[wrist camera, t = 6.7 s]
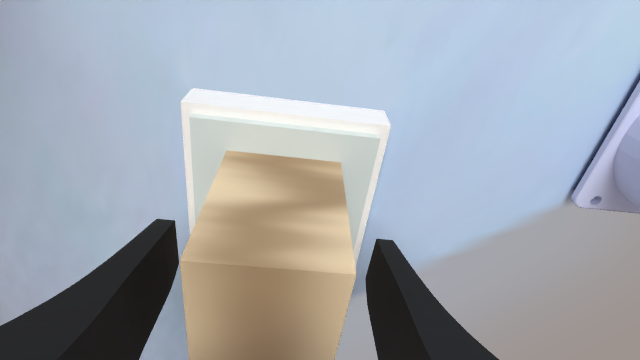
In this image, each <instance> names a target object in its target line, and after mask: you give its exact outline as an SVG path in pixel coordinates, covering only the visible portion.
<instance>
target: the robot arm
mask: <svg viewBox="0 0 640 360" xmlns="http://www.w3.org/2000/svg"><path fill="white" fill-rule="evenodd" d="M594 197H595V198H594ZM592 198H594V199H592ZM591 199H592V200H591ZM571 201H572V202H573V203H574V204H575V205H576V206H577V207H580V208H590V209H600V210H611V211H620V212H630V213H640V81H639V83H638V84H637V86H636V88H635V90H634V91H633V93H632V95H631V96H630V98H629V100H628V101H627V103H626V105H625V106H624V108H623V110H622V111H621V113H620V115H619V117H618V118H617V120H616V122H615V123H614V125H613V127H612V128H611V130H610V132H609V133H608V135H607V137H606V138H605V140H604V142H603V144H602V145H601V147H600V149H599V150H598V152H597V154H596V155H595V157H594V159H593V160H592V162H591V164H590V165H589V167H588V169H587V171H586V172H585V174H584V176H583V177H582V179H581V181H580V182H579V184H578V186H577V187H576V189H575V191H574V192H573V194H572V197H571ZM178 265H179V258H178V248H177V237H176V227H175V221H174V220H163V219H156V220H155V221H154V222H153V223H151V224H150V225H149V226H148V227H147V228H145V229H144V230H143V231H142V232H141V233H140V234H138V235H137V236H136V237H135V238H134V239H133V240H131V241H130V242H129V243H128V244H127V245H125V246H124V247H123V248H122V249H120V250H119V251H118V252H117V253H116V254H114V255H113V256H112V257H111V258H109V259H108V260H107V261H105V262H104V263H103V264H101V265H100V266H99V267H97V268H96V269H95V270H93V271H92V272H91V273H89V274H88V275H87V276H85V277H84V278H82V279H81V280H79V281H78V282H76V283H75V284H74V285H72V286H70V287H69V288H67V289H66V290H64V291H63V292H61V293H59V294H58V295H56V296H55V297H53V298H51V299H49V300H48V301H46V302H44V303H42V304H41V305H39V306H37V307H35V308H33V309H32V310H30V311H28V312H26V313H24V314H23V315H21V316H19V317H17V318H15V319H13V320H11V321H9V322H7V323H5V324H3V325H1V326H0V360H139V358H140V356H141V353H142V351H143V349H144V346H145V344H146V342H147V340H148V338H149V336H150V333H151V331H152V329H153V327H154V325H155V323H156V321H157V318H158V316H159V314H160V312H161V310H162V308H163V305H164V303H165V301H166V299H167V297H168V294H169V292H170V290H171V287H172V284H173V281H174V278H175V275H176V271H177V268H178ZM366 293H367V305H368V310H369V315H370V321H371V326H372V330H373V336H374V341H375V346H376V351H377V355H378V360H499V359H498V358H496V357H495V356H494V355H493V354H492V353H490V352H489V351H488V350H487V349H486V348H485V347H484V346H482V345H481V344H480V343H479V342H478V341H477V340H476V339H474V338H473V337H472V336H471V335H470V334H469V333H468V332H467V331H466V330H465V329H464V328H463V327H462V326H461V325H460V324H459V323H458V322H457V321H456V320H455V319H454V318H453V317H452V316H451V315H450V314H449V313H448V312H447V311H446V310H445V309H444V307H443V306H442V305H441V304H440V303H439V302H438V300H437V299H436V298H435V297H434V296H433V295H432V293H431V292H430V291H429V289H428V288H427V287H426V286H425V284H424V283H423V282H422V280H421V279H420V278H419V276H418V275H417V274H416V272H415V271H414V270H413V268H412V267H411V266H410V264H409V263H408V261H407V260H406V258H405V257H404V256H403V254H402V253H401V251H400V250H399V248H398V247H397V245H396V244H395V243H394V241H393V240H383V239H376V243H375V246H374V250H373V253H372V257H371V261H370V264H369V268H368V271H367V275H366Z"/></svg>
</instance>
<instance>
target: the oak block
mask: <svg viewBox="0 0 640 360" xmlns="http://www.w3.org/2000/svg"><path fill="white" fill-rule="evenodd" d="M180 268H181V278H182V289H183V300H184V310H185V321H186V332H187V343H188V353H189V360H335V356H336V352H337V349H338V345H339V341H340V337H341V333H342V329H343V325H344V321H345V317H346V313H347V310H348V306H349V302H350V298H351V294H352V290H353V286H354V282H355V278H356V267H355V260H354V253H353V246H352V239H351V232H350V225H349V217H348V210H347V203H346V196H345V189H344V182H343V175H342V167H341V162H333V161H323V160H314V159H304V158H295V157H285V156H276V155H266V154H257V153H247V152H238V151H229V150H226V153H225V155H224V157H223V160H222V162H221V164H220V167H219V169H218V172H217V174H216V176H215V179H214V181H213V183H212V186H211V188H210V190H209V193H208V195H207V198H206V200H205V202H204V205H203V207H202V209H201V212H200V214H199V216H198V219H197V221H196V224H195V226H194V228H193V231H192V233H191V235H190V238H189V240H188V243H187V245H186V247H185V250H184V252H183V254H182V257H181V259H180Z"/></svg>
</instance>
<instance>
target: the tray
mask: <svg viewBox="0 0 640 360" xmlns="http://www.w3.org/2000/svg"><path fill="white" fill-rule="evenodd" d="M181 114H182V128H183V143H184V157H185V171H186V185H187V200H188V214H189V228H190V235H191V233H192V231H193V228H194V226H195V224H196V221H197V219H198V216H199V214H200V212H201V209H202V207H203V205H204V202H205V200H206V198H207V195H208V193H209V190H210V188H211V186H212V183H213V181H214V179H215V176H216V174H217V172H218V169H219V167H220V164H221V162H222V160H223V157H224V155H225V153H226V150H229V151H238V152H247V153H257V154H266V155H276V156H285V157H295V158H304V159H314V160H323V161H333V162H341V167H342V175H343V182H344V189H345V196H346V203H347V210H348V217H349V225H350V232H351V239H352V246H353V253H354V260H355V267H356V264H357V260H358V256H359V252H360V248H361V244H362V240H363V236H364V232H365V228H366V224H367V220H368V216H369V212H370V208H371V204H372V200H373V196H374V192H375V188H376V184H377V180H378V176H379V172H380V168H381V164H382V160H383V156H384V152H385V148H386V144H387V140H388V136H389V132H390V128H391V125H390V123H389V120H388V118H387V116H386V114H385V112H384V111H382V110H373V109H365V108H356V107H348V106H340V105H331V104H323V103H314V102H306V101H298V100H289V99H281V98H272V97H264V96H256V95H247V94H239V93H230V92H222V91H214V90H205V89H197V88H192V89H191V90H190V91H189V93H188V94H187V95H186V96H185V97H184V98H183V100H182V101H181Z"/></svg>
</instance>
